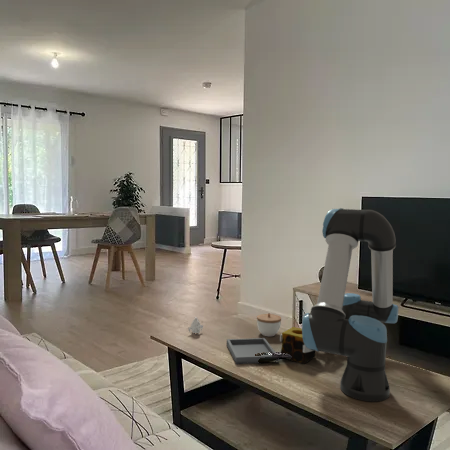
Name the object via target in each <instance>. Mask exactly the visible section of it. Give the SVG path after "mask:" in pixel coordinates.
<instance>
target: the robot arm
mask: <svg viewBox="0 0 450 450" xmlns="http://www.w3.org/2000/svg"><path fill="white" fill-rule="evenodd" d="M322 236H323V238H324V239H325V242H326V244H327V245H328V247H327V252H326V256H325V261H324V266H323V272H322V278H321V280H320V286H319V290H318V291H319V292H318V296H317V297H318V298H317V302H316V304H315V305H313V306H312V307H311V308H310V313H309V312H306V313H304V315H303V317H302V323H301V329H302V336H303V342H304V344H305V345H303V353H306V352H310V351H315V352H323V353H326V354H333V355H338V356H343V357H347V359H346V360H347V361H346V367H345V368H344V371H343V373H342V376H341V378H340V385H339V388H340V390H341V392H342V393H344V394H345V395H346V396H347V397H351V398H352V399H355V400H358V401H359V400H360V401H365V402H383V401H385V400H387V399H389V397H390V395H391V394H390V393H391V392H390V389H391V387H390V383H389V380H388V377H387V373H386V372H387V371H386V355H387V354H386V353H387V342H388V336H387V335H388V334H387V333H388V331H387V326H386V325H385V324H396V323H397V322H398V318H399V306H398V305H397V304H394V303H393V301H394V300H393V299H394V297H393V293H394V291H393V287H394V286H393V285H394V283H393V282H394V281H393V279H394V277H393V275H394V272H393V269H394V268H393V265H394V263H393V259H394V257H393V256H394V255H393V254H394V253H393V251H394V249H395V248H396V247H397V244H396V243H397V242H396V239H397V238H396V235H395V231H394V229H393V226H392V225H391V223H390V221H388V220H387V218H386V217H385V216H384V215H383V214H381V213H380V212H378V211H376V210H373V209H354V208H353V209H349V208H346V209H344V208H341V207H340V208H332V209H330V210H328V212H327V213H326V214H325V217H324V220H323V223H322ZM359 242H367V246H368V248H369V250H370V253H371V256H370V258H371V260H370V261H371V262H370V263H371V289H372V290H371V291H372V292H371V293H372V297H371V299H372V300H371V301H370V300H364V299H362V298H361V295H360V294H358V293H351V292H350V293H349V292H348V293H346V290H347V289H346V288H347V285H348V277H349V273H350V272H349V271H350V266H351V260H352V254H353V250H355V249H356V248H357V247H358V245H359ZM384 323H385V324H384ZM279 342H280V343H282V333H281V334H279Z"/></svg>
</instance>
